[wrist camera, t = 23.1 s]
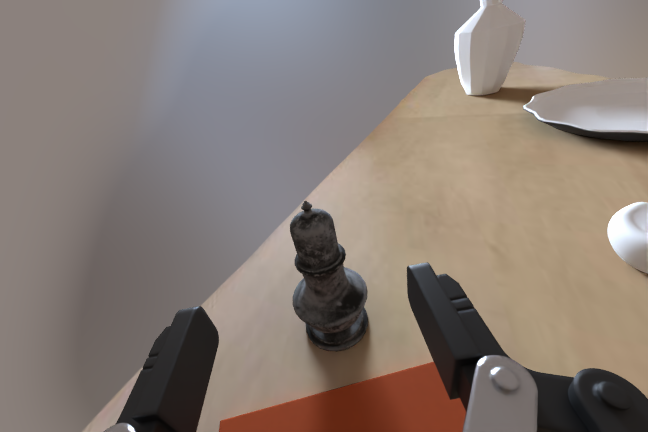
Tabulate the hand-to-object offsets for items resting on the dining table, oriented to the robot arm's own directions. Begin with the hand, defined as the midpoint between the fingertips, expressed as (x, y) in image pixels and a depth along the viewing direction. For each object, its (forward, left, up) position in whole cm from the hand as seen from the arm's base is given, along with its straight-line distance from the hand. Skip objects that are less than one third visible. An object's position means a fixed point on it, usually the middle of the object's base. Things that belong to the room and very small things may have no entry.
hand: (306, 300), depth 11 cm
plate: (+61, -18, -12) cm, 64 cm away
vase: (+82, +8, -12) cm, 83 cm away
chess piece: (+6, +5, -12) cm, 14 cm away
